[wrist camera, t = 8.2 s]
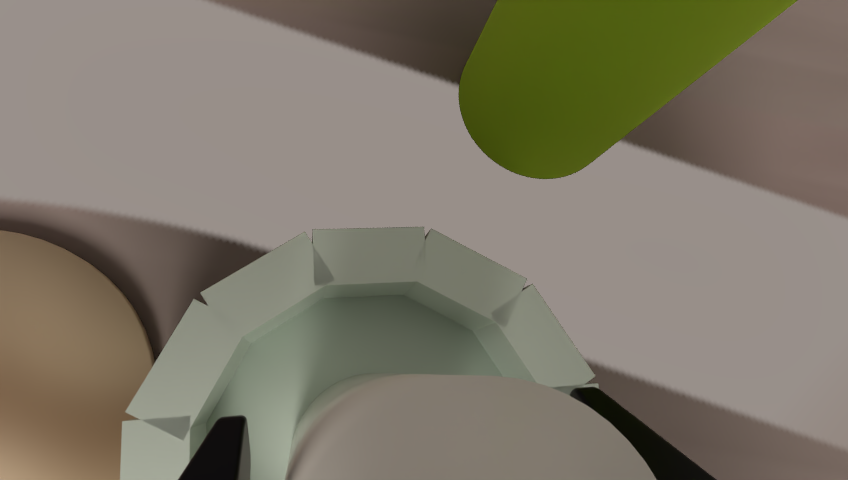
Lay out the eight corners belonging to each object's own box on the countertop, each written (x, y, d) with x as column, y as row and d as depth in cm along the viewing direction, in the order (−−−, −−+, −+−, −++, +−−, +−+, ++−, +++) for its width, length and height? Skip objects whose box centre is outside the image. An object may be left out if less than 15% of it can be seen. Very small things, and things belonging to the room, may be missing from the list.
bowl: (578, 640, 18) (639, 697, 15) (150, 712, 16) (107, 799, 12) (533, 249, 21) (577, 223, 17) (161, 261, 18) (128, 233, 15)
